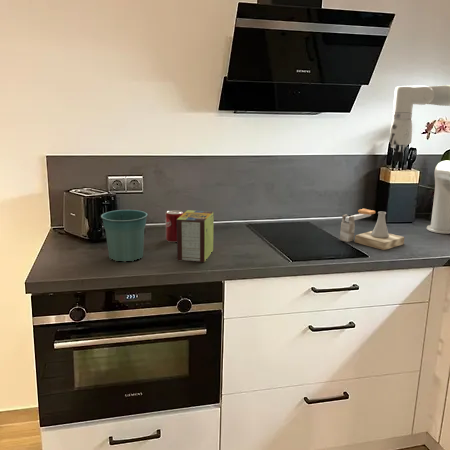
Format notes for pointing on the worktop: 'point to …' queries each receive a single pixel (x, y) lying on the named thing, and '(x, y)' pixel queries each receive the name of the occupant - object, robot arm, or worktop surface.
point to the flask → (380, 227)
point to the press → (367, 236)
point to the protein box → (195, 235)
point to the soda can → (172, 225)
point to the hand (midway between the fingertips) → (397, 161)
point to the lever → (361, 214)
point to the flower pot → (125, 234)
